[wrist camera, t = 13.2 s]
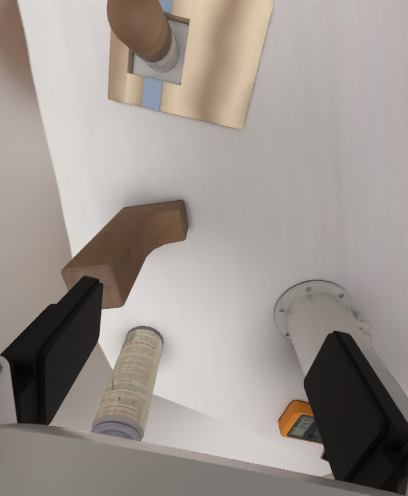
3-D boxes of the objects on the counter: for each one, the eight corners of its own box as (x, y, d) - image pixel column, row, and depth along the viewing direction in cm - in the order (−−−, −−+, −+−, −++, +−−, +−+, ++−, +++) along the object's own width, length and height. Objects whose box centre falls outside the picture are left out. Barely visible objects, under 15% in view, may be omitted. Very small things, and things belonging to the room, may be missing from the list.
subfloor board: (269, 9, 29) (274, 0, 27) (240, 129, 34) (242, 129, 32) (120, -30, 28) (113, -42, 26) (113, 100, 33) (107, 98, 31)
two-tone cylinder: (181, 34, 30) (164, -15, 19) (175, 75, 32) (157, 53, 21) (145, 25, 30) (108, -29, 19) (142, 67, 31) (105, 40, 21)
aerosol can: (122, 348, 51) (73, 475, 32) (131, 321, 48) (82, 444, 30) (157, 358, 51) (128, 487, 33) (167, 332, 49) (142, 458, 31)
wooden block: (183, 199, 38) (163, 258, 22) (188, 228, 40) (173, 303, 24) (121, 207, 39) (57, 270, 22) (129, 236, 41) (75, 313, 24)
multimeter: (349, 436, 61) (356, 453, 58) (275, 421, 59) (278, 437, 56) (369, 413, 58) (378, 430, 55) (291, 396, 56) (296, 412, 53)
